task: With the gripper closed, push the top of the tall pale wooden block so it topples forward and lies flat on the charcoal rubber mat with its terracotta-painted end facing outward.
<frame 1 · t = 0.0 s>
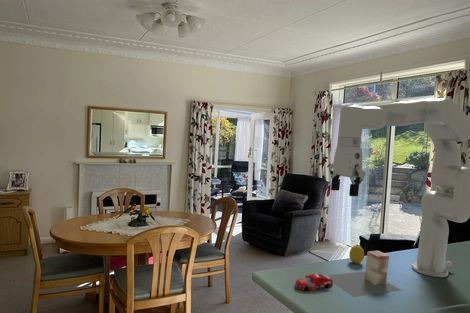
hand: (343, 193, 123), 31 cm above the kitchen counter, tool pointing down, fingers open, 9 cm apart
rubber mat: (361, 284, 125), on the kitchen counter
race car: (313, 287, 120), on the kitchen counter
wooden block: (375, 281, 127), point 1 cm above the kitchen counter, touching rubber mat
lemon: (355, 264, 144), on the kitchen counter
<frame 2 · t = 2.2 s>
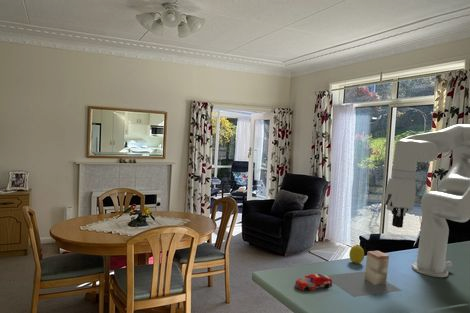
hand: (397, 226, 128), 20 cm above the kitchen counter, tool pointing down, fingers closed
nothing on the kitchen counter moved.
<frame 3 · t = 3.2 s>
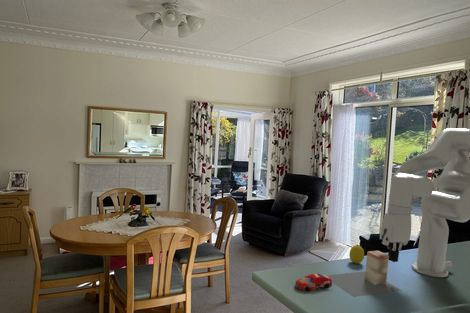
hand: (392, 260, 129), 8 cm above the kitchen counter, tool pointing down, fingers closed
nothing on the kitchen counter moved.
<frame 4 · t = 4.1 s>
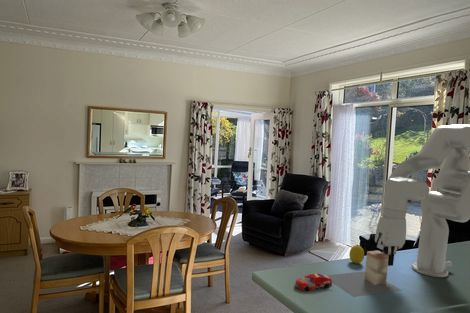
hand: (387, 264, 128), 6 cm above the kitchen counter, tool pointing down, fingers closed
wooden block: (375, 281, 127), point 1 cm above the kitchen counter, touching gripper, rubber mat
everything else where it was.
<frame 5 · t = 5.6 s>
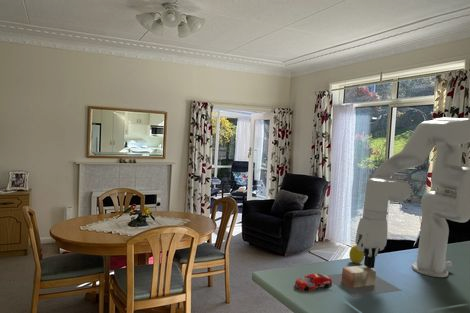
hand: (368, 266, 125), 6 cm above the kitchen counter, tool pointing down, fingers closed
wooden block: (370, 274, 126), point 3 cm above the kitchen counter, tilted 90°, touching rubber mat
everything else where it was.
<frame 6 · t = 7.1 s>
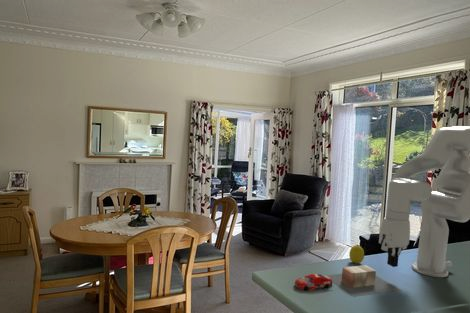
hand: (392, 265, 129), 6 cm above the kitchen counter, tool pointing down, fingers closed
nothing on the kitchen counter moved.
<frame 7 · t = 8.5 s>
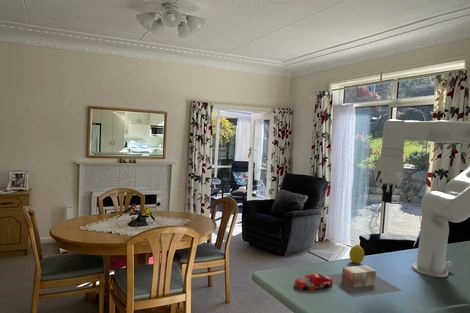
hand: (386, 202, 135), 27 cm above the kitchen counter, tool pointing down, fingers closed
nothing on the kitchen counter moved.
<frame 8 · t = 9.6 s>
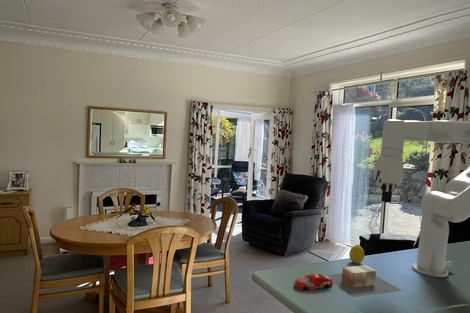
hand: (386, 201, 135), 27 cm above the kitchen counter, tool pointing down, fingers closed
nothing on the kitchen counter moved.
at the end: wooden block tilted 90°; wooden block inside the target area (3.0 cm from its centre), point 3.1 cm above the kitchen counter; wooden block touching rubber mat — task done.
